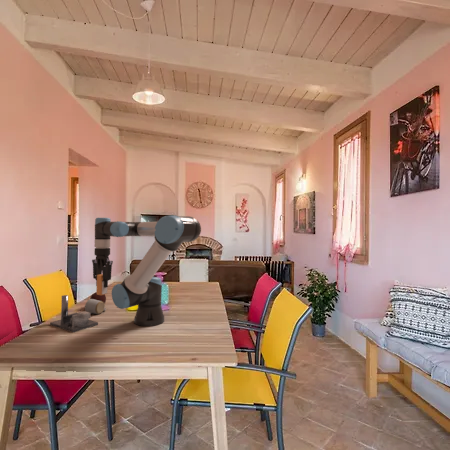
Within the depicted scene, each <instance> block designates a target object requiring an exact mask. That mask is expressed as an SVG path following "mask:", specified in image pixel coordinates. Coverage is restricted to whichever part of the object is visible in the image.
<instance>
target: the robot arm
mask: <svg viewBox="0 0 450 450" xmlns="http://www.w3.org/2000/svg"><path fill="white" fill-rule="evenodd" d="M201 233H202V226H201V223H200V222H199V220H198V219H196V218H195V217H193V216H189V215H187V216H184V215H183V216H182V215H176V214H175V215H173V214H171V215H165V216H162V217H160V218H159V220H157V221H118V220H117V221H111V218H110V217H96V218H95V221H94V256H95V258H94V259H92V260H91V262H92V276H93V279H95V281H96V282H95V287H97V275H101V274H103V280H102V294H105V295H107V294H108V287H109V286H108V285H109V284H108V283H109V281H111V280H112V271H113V270H112V267H113V263H114V262H113V260H110V258H109V256H110V255H111V248H110V247H111V237H114V238H121V237H123V238H124V237H153V238H154V242H153V243H152V245H150V247H149V249H148V251H147V252H146V253H145V254H144V255H143V258H142V259H141V260H140V262H139V263H138V265H137V266H136V267H135V269H134V271H133V272H132V274H128V275H127V276H126V277H125V278H124V279H123V280H122V282H120V283H116V284H115V285H113V287H112V288H111V289H112V290H111V298H112V299H111V300H112V302H113V304H114V305H115V307H117V308H118V309H120V310H123V309H124V310H125V309H129V308H133V307H135V306H137V309H136V312H135V316H134V318H133V319H134V321H133V322H134V324H135V325H137V326H139V327H141V326H142V327H150V326H151V327H153V326H158V325H161V324H163V323H164V322H165V314H164V311H163V307H162V295H163V294H162V293H163V290H162V287H163V285H162V283H163V282H162V279H161V277H158V276H155V275H156V273H157V272H158V271H159V269H160V268H161V267H162V265H163V264H164V263H165V262H166V260H167V258H168V257H169V256H170V254H171V253H172V252H176V251H178V249H179V248H180V247H181V246H182V244H183V243H191V242H194V241H196V240H197V239H198V238H199V237H200V236H201ZM105 278H106V279H105ZM95 293H97V290H96V292H95ZM106 293H107V294H106Z"/></svg>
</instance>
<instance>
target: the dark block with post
mask: <svg viewBox="0 0 450 450" xmlns="http://www.w3.org/2000/svg"><path fill="white" fill-rule="evenodd" d="M60 310H61V312H60V313H61V314H60V315H61V317H60V319H59V320H53V321H51V322H49V326H52V327H56V328H59V329H62V330H65V331H68V332H71V333H75V332H79V331H82V330H85V329H89V328H92V327H94V326H99V322H98V321H95V320H91V319H89V321H88V322H87V323H84V324H81V325H77V326H74V327H73V326H72V316H73V315H77V314H78V313H79V312H73V313H70V314H69V294H68V295H67V294H65V295H64V294H63V295H61V309H60Z"/></svg>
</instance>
